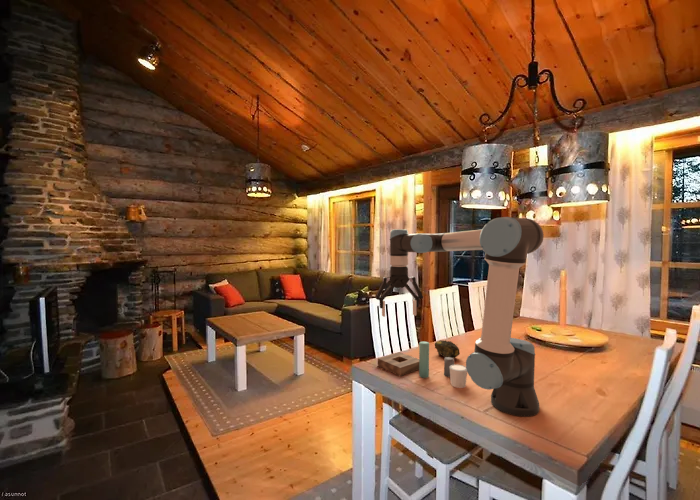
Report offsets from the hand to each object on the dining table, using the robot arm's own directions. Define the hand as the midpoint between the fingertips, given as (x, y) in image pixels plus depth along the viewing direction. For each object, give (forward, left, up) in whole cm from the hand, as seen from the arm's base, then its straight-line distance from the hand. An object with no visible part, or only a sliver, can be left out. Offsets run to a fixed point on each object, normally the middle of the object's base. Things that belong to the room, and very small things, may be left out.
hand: (399, 315), depth 148 cm
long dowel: (-9, -6, -25) cm, 27 cm away
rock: (-1, -33, -25) cm, 41 cm away
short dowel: (-15, -15, -25) cm, 33 cm away
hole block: (+4, -5, -25) cm, 26 cm away
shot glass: (-23, -10, -25) cm, 35 cm away
